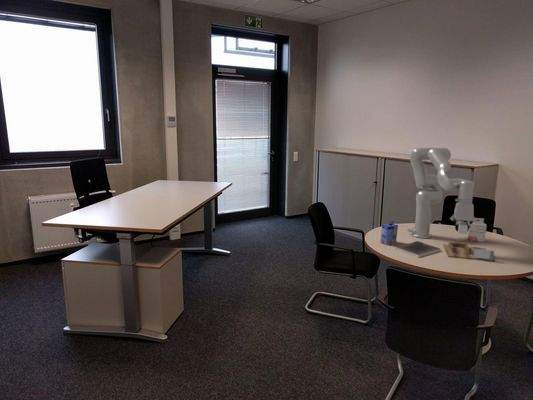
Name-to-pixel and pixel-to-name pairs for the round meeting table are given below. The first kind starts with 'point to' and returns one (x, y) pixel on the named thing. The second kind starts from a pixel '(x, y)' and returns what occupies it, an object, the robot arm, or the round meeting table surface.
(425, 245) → the picture frame
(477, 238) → the ink cartridge box
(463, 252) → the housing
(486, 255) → the gate
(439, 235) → the round meeting table surface
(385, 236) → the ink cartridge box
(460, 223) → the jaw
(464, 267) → the round meeting table surface
